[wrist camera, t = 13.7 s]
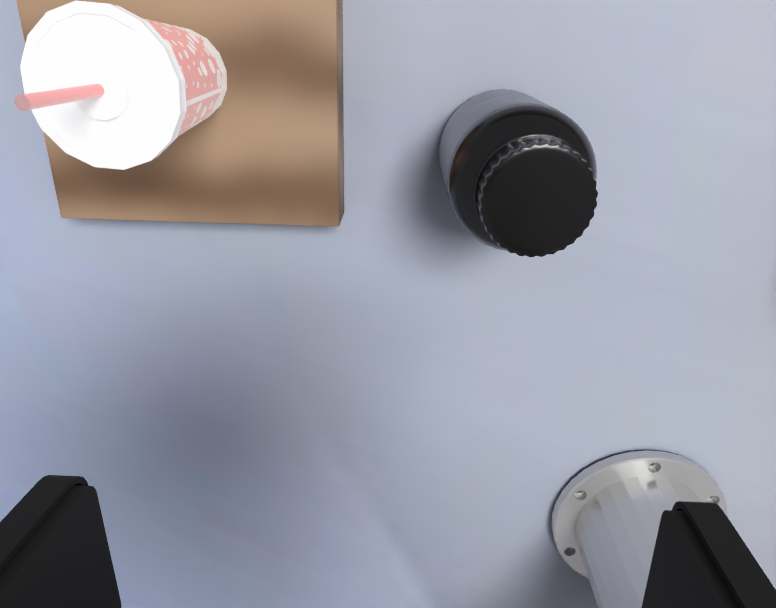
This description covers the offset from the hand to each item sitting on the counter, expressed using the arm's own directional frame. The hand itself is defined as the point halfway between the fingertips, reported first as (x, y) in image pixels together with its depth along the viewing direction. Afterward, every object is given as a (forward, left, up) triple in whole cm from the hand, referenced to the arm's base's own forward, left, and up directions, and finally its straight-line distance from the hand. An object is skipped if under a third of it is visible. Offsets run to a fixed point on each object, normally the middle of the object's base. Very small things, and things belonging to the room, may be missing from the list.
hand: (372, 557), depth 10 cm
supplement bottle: (+2, -6, -29) cm, 29 cm away
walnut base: (+6, +11, -28) cm, 31 cm away
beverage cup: (+6, +11, -26) cm, 29 cm away
